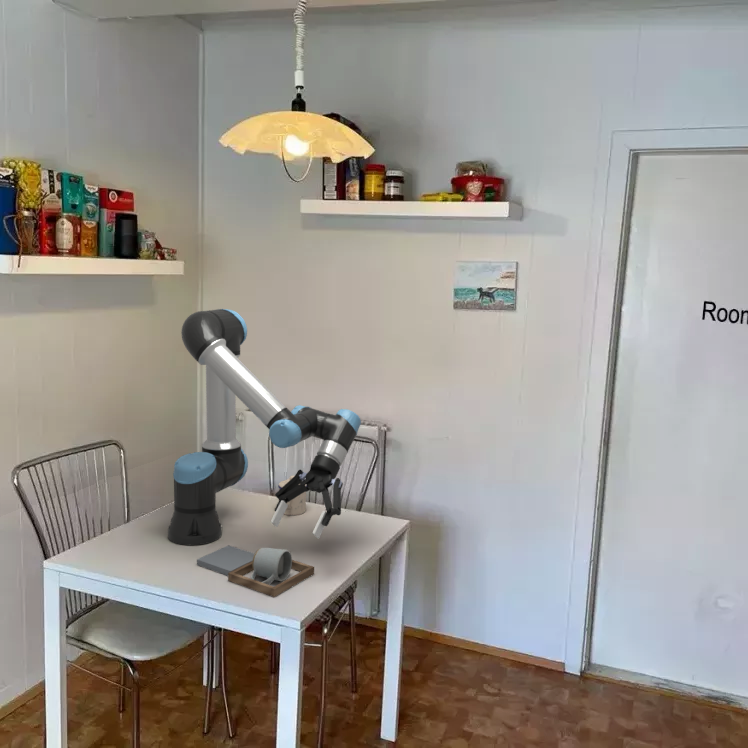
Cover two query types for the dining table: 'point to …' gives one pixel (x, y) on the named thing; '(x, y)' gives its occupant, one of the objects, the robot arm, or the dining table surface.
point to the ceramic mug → (271, 564)
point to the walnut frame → (264, 588)
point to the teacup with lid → (294, 501)
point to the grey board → (226, 559)
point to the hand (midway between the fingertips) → (294, 530)
